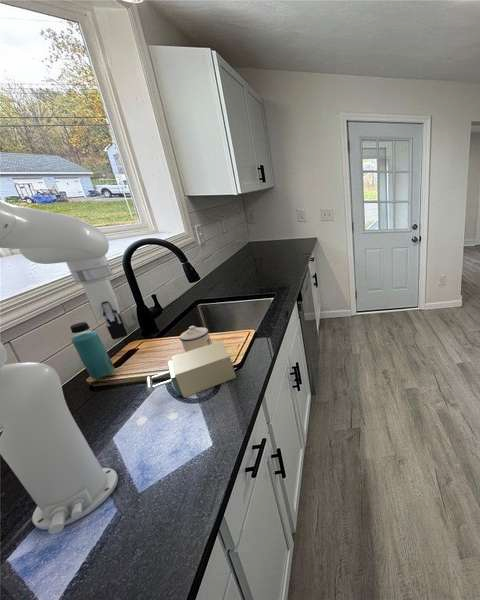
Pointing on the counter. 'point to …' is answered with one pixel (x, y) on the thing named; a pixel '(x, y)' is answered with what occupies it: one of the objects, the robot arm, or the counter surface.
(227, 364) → the drawer cabinet
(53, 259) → the robot arm
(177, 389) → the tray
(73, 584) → the counter surface
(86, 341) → the beverage bottle
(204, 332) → the teacup with lid
